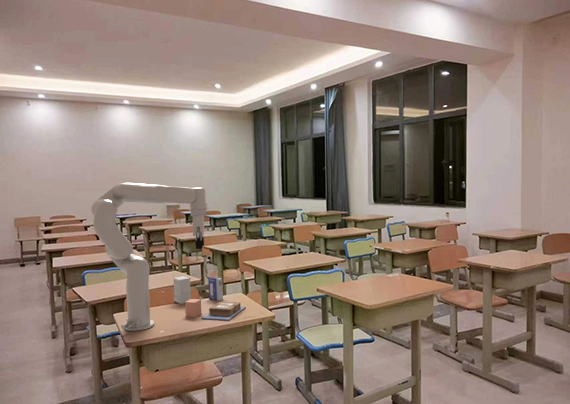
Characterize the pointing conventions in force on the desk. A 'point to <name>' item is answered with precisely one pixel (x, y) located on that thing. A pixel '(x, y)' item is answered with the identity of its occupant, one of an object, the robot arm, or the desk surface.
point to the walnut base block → (224, 308)
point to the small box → (182, 289)
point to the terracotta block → (193, 307)
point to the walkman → (215, 288)
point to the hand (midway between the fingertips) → (200, 247)
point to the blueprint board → (222, 316)
